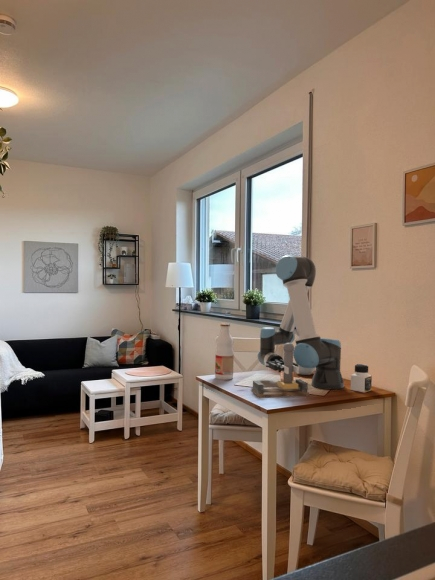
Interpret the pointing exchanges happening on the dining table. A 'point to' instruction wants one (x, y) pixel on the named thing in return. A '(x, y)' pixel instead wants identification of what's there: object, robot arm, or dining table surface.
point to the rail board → (280, 390)
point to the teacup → (305, 370)
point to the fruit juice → (224, 354)
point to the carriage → (288, 362)
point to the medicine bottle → (361, 379)
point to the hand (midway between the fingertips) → (292, 370)
